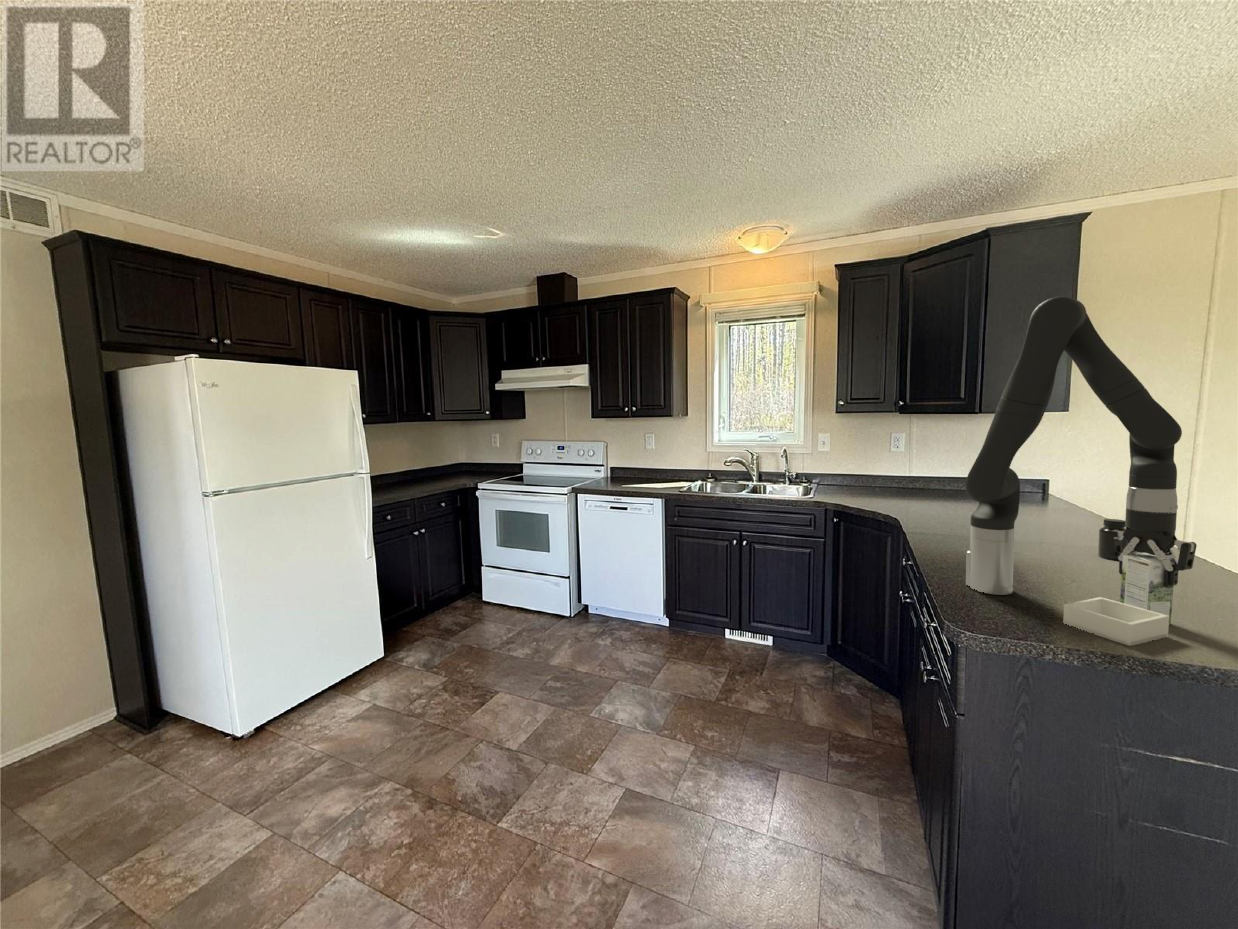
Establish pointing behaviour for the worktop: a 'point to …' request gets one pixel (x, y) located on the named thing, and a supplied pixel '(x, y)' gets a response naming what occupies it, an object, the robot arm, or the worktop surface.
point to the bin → (1116, 621)
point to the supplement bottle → (1103, 540)
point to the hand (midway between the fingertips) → (1147, 581)
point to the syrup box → (1145, 584)
